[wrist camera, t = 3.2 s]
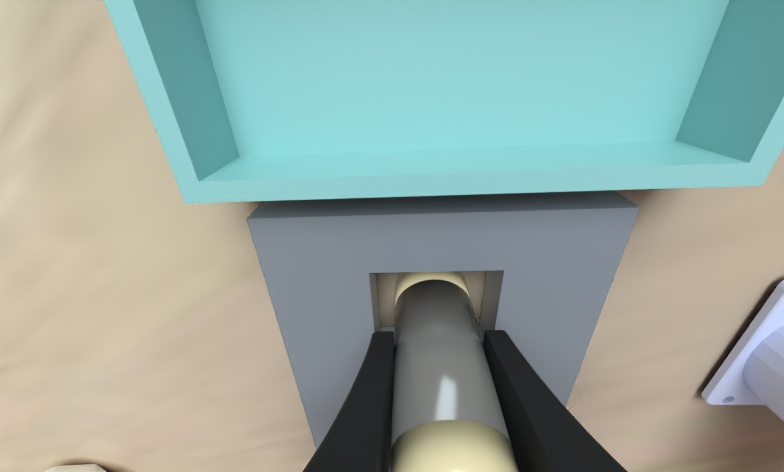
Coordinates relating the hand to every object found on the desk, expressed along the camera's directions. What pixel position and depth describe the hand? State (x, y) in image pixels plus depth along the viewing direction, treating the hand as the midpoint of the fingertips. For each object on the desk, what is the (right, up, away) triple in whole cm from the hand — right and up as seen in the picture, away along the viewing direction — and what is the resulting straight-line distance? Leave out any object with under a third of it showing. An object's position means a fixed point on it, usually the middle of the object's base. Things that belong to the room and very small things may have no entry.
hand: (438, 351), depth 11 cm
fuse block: (0, -2, +5) cm, 6 cm away
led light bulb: (0, +2, +3) cm, 3 cm away
